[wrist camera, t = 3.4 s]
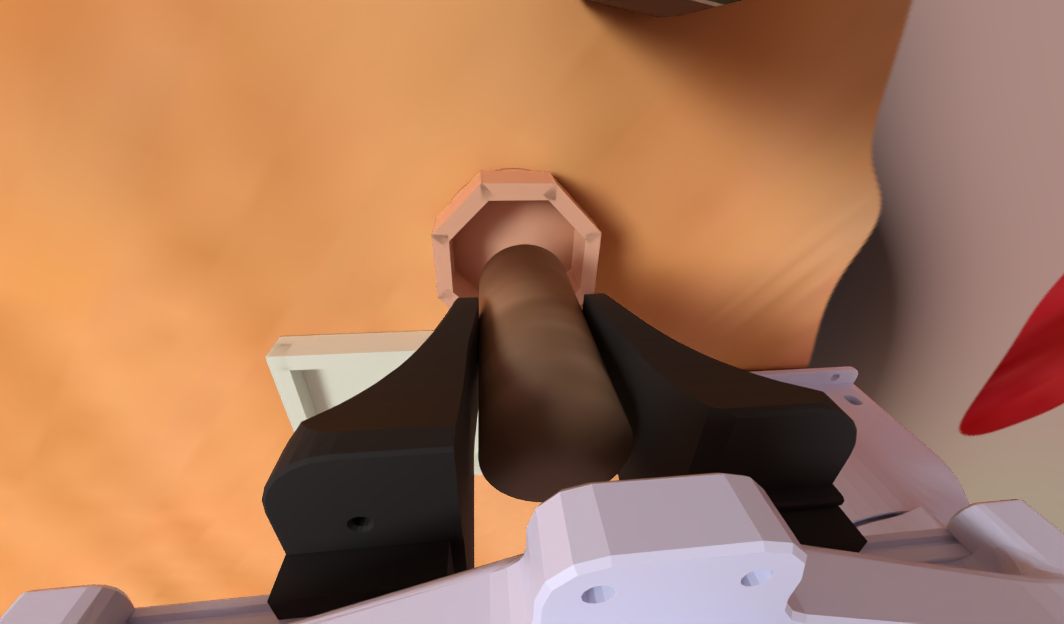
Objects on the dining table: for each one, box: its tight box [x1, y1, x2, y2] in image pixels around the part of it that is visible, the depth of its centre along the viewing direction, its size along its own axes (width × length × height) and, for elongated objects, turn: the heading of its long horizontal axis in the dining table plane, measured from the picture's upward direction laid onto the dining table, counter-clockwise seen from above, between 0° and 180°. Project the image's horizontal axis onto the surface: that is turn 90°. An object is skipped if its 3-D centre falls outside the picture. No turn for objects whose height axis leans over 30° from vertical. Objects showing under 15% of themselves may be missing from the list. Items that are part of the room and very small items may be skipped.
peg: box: [478, 244, 633, 502], centre depth 12 cm, size 3×3×8 cm
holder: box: [431, 168, 602, 308], centre depth 17 cm, size 6×6×2 cm
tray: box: [265, 331, 483, 475], centre depth 22 cm, size 12×9×2 cm
